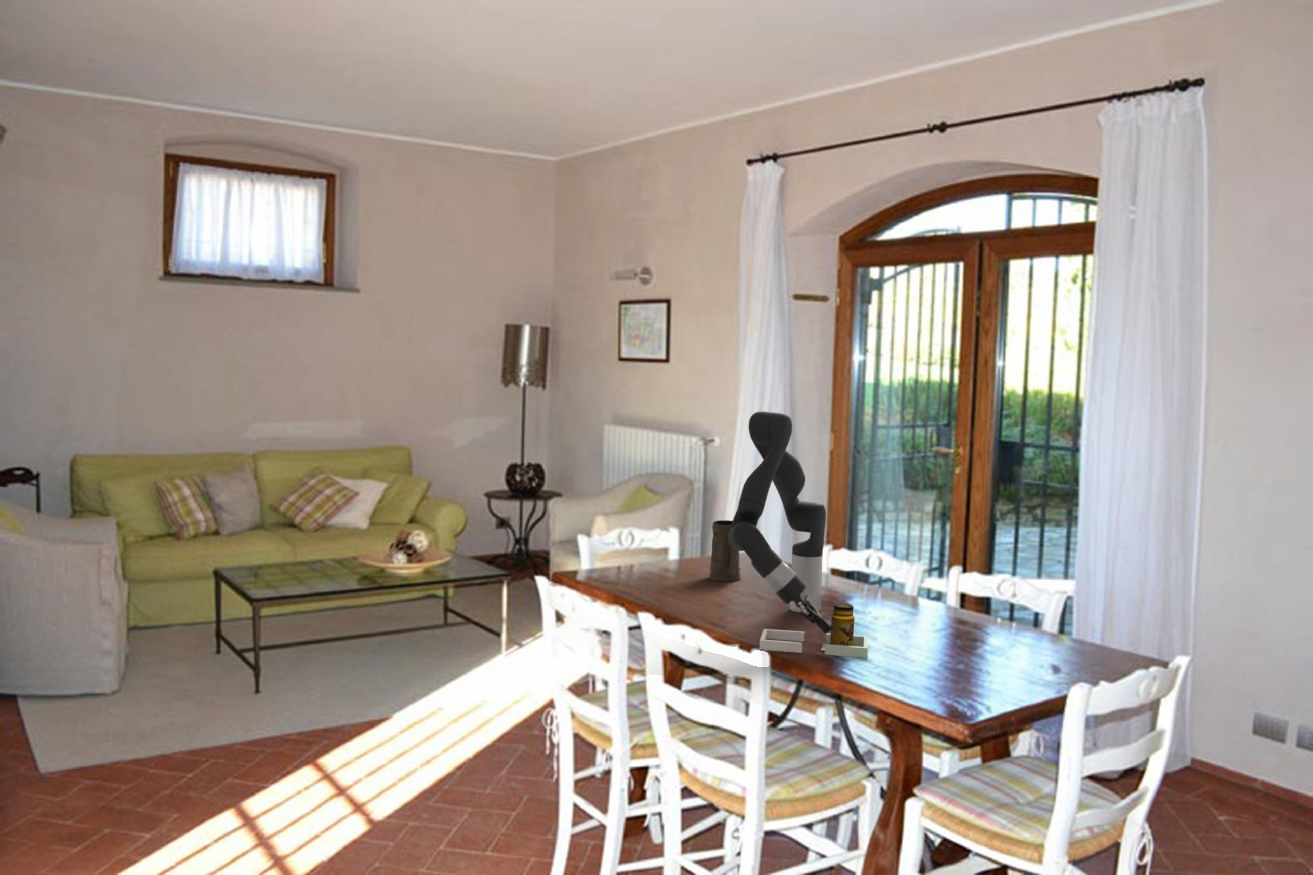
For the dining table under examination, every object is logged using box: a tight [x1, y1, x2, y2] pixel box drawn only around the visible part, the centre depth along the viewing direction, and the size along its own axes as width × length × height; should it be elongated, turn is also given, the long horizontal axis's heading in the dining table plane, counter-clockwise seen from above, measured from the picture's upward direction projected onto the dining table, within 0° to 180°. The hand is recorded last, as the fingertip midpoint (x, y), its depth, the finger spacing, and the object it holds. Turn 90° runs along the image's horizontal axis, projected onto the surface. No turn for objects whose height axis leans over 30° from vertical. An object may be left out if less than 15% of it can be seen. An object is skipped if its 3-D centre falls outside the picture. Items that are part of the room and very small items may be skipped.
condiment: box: [820, 602, 856, 652], centre depth 296 cm, size 7×8×12 cm
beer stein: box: [708, 519, 742, 583], centre depth 380 cm, size 15×11×20 cm
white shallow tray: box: [824, 632, 869, 659], centre depth 296 cm, size 12×11×2 cm
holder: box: [759, 628, 805, 654], centre depth 299 cm, size 12×11×2 cm
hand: (828, 630), depth 296 cm, fingers closed
